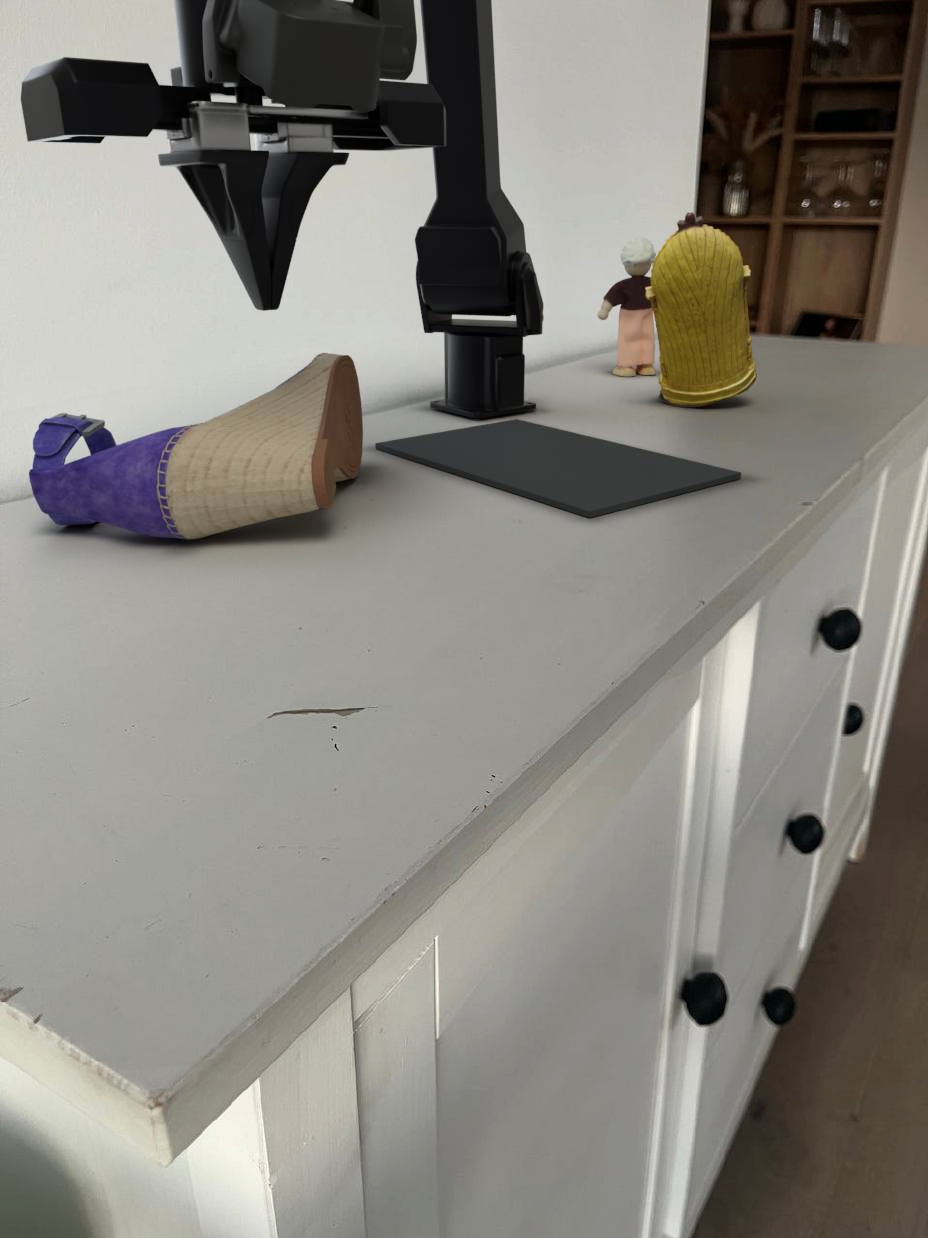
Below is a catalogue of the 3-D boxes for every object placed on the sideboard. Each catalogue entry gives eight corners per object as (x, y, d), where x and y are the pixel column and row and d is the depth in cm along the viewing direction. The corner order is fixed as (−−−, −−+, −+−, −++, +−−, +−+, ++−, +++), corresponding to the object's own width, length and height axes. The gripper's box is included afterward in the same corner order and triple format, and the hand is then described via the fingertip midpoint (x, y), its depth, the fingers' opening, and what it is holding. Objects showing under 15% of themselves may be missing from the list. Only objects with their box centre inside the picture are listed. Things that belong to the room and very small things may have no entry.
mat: (375, 448, 67) (375, 442, 67) (516, 423, 75) (516, 418, 74) (589, 518, 52) (590, 511, 52) (740, 478, 59) (741, 472, 59)
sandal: (351, 313, 61) (116, 328, 61) (315, 445, 44) (-7, 465, 45) (367, 434, 65) (147, 447, 66) (339, 593, 49) (47, 610, 49)
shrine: (725, 423, 75) (747, 211, 69) (626, 413, 78) (638, 212, 72) (763, 398, 84) (784, 210, 78) (672, 391, 88) (686, 210, 82)
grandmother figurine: (651, 368, 100) (659, 236, 95) (673, 373, 96) (684, 236, 91) (587, 374, 97) (592, 237, 92) (608, 379, 93) (615, 238, 88)
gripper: (75, -167, 31) (144, 343, 37) (522, -77, 41) (516, 308, 47) (-16, -89, 39) (54, 318, 45) (377, -30, 49) (389, 293, 55)
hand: (267, 309), depth 48 cm, fingers closed
